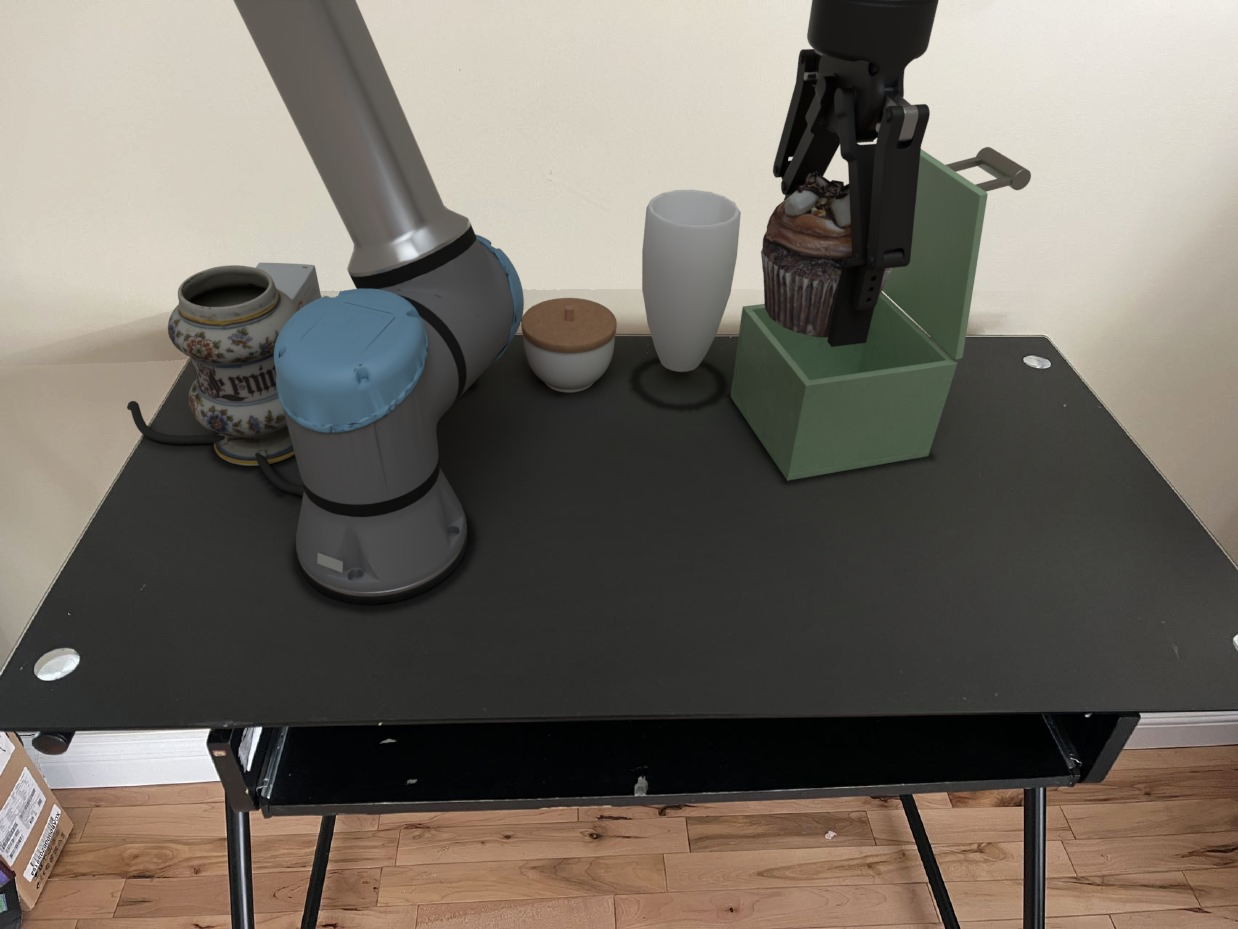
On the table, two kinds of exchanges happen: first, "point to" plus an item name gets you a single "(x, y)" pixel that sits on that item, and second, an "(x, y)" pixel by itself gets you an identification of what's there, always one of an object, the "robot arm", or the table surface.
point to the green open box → (840, 392)
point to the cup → (687, 272)
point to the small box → (294, 281)
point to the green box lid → (948, 244)
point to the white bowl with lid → (569, 342)
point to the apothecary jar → (235, 359)
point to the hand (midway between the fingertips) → (816, 307)
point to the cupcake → (807, 255)
